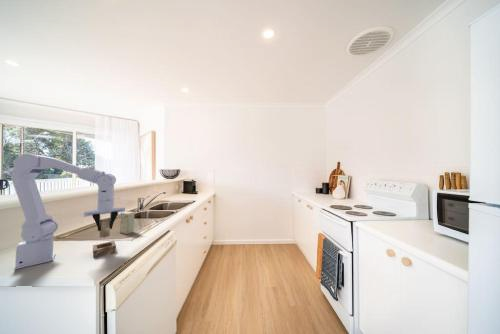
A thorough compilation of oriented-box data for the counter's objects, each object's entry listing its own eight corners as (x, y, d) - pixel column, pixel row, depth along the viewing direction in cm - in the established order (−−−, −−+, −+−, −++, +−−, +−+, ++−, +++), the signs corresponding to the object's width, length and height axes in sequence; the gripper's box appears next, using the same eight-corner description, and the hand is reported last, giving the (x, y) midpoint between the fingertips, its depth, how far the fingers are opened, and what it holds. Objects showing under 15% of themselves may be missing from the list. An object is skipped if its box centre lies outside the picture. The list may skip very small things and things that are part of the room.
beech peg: (100, 238, 77) (100, 220, 77) (99, 236, 79) (99, 218, 79) (110, 236, 79) (111, 218, 79) (109, 234, 82) (109, 217, 82)
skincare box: (119, 233, 103) (120, 212, 104) (126, 230, 107) (127, 211, 108) (127, 234, 101) (127, 213, 102) (134, 231, 106) (134, 211, 106)
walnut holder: (93, 257, 73) (93, 250, 74) (92, 251, 79) (93, 245, 79) (115, 252, 79) (115, 245, 79) (113, 246, 84) (114, 240, 84)
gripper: (84, 202, 72) (83, 235, 71) (126, 199, 82) (125, 227, 81) (84, 200, 77) (83, 231, 76) (124, 197, 87) (123, 224, 86)
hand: (105, 229), depth 79 cm, fingers closed on beech peg, 4 cm apart
